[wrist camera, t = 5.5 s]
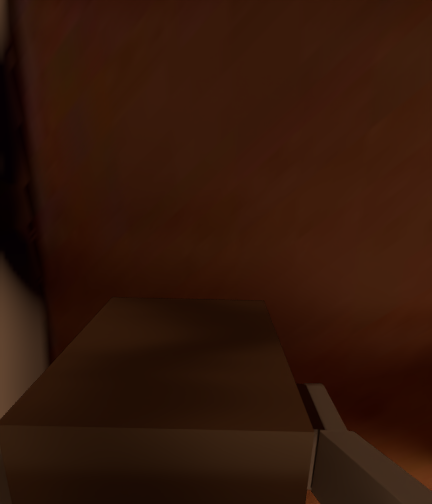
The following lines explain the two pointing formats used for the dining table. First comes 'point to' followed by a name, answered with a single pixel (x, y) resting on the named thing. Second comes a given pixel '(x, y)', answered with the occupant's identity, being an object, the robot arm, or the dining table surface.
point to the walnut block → (163, 411)
